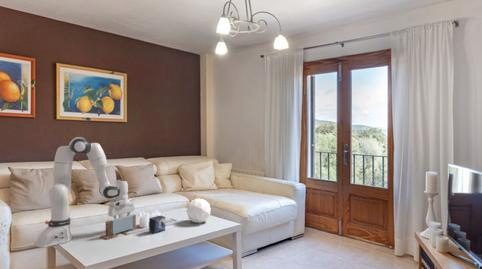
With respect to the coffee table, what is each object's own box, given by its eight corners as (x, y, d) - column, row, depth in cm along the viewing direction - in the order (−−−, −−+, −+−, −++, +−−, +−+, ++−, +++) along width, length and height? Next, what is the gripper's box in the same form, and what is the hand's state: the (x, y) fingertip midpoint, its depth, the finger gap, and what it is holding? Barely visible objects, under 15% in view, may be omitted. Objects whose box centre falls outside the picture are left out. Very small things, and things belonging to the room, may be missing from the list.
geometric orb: (203, 231, 267) (207, 215, 256) (180, 221, 270) (184, 205, 258) (212, 215, 282) (216, 199, 271) (191, 205, 285) (194, 189, 274)
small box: (154, 234, 239) (154, 219, 239) (148, 232, 243) (148, 218, 243) (165, 230, 248) (165, 216, 248) (160, 228, 252) (160, 215, 252)
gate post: (107, 239, 227) (107, 223, 227) (100, 237, 231) (100, 221, 231) (117, 236, 234) (117, 221, 233) (110, 234, 238) (110, 219, 238)
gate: (113, 234, 234) (113, 220, 234) (110, 233, 235) (110, 220, 235) (135, 227, 250) (135, 214, 250) (133, 226, 251) (133, 214, 251)
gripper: (130, 198, 256) (131, 216, 257) (107, 203, 240) (107, 222, 240) (136, 199, 253) (136, 217, 253) (112, 204, 236) (112, 223, 236)
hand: (121, 219), depth 246 cm, fingers open, 8 cm apart
